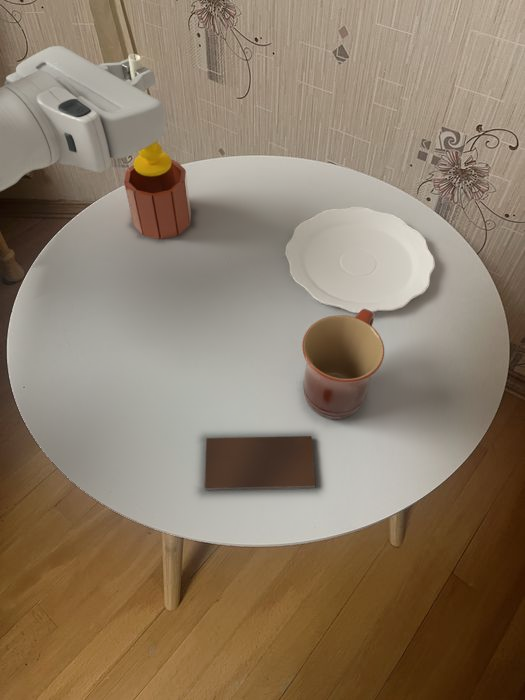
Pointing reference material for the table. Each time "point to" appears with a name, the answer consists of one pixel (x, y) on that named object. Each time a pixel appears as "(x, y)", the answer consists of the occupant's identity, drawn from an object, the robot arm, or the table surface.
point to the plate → (360, 259)
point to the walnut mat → (259, 463)
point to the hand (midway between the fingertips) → (143, 70)
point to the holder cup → (159, 201)
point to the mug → (340, 363)
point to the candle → (151, 156)
